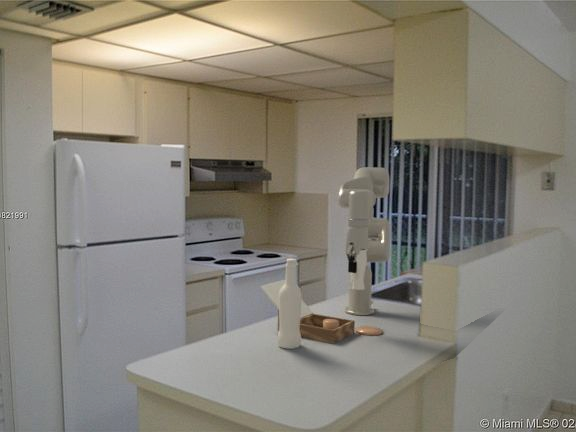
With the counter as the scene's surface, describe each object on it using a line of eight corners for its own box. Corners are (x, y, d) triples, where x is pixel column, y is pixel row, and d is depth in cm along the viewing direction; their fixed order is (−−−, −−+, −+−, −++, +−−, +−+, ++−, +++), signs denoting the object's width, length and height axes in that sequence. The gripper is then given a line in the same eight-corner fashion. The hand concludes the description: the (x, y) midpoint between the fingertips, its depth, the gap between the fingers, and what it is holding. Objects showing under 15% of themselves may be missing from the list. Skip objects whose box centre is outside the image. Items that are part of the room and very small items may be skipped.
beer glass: (366, 290, 202) (367, 250, 201) (347, 290, 202) (348, 250, 201) (364, 286, 209) (366, 247, 208) (346, 286, 209) (347, 247, 208)
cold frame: (312, 324, 215) (312, 313, 215) (354, 332, 205) (354, 320, 205) (289, 334, 201) (289, 322, 200) (333, 343, 191) (333, 330, 191)
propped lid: (282, 319, 222) (283, 279, 221) (313, 324, 215) (314, 283, 214) (258, 328, 208) (259, 285, 207) (290, 334, 201) (291, 290, 199)
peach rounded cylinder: (327, 334, 203) (327, 318, 202) (340, 336, 200) (341, 320, 199) (320, 337, 198) (320, 321, 198) (333, 340, 195) (334, 323, 195)
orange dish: (362, 326, 214) (362, 324, 214) (386, 331, 209) (386, 329, 209) (351, 332, 206) (351, 330, 205) (376, 337, 200) (376, 335, 200)
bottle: (272, 346, 185) (275, 259, 183) (284, 341, 193) (286, 256, 191) (294, 351, 182) (296, 261, 180) (304, 344, 189) (307, 258, 187)
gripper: (360, 221, 213) (358, 266, 214) (338, 224, 199) (336, 273, 200) (377, 222, 209) (376, 269, 210) (356, 226, 194) (355, 275, 196)
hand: (356, 270), depth 205 cm, fingers closed on beer glass, 6 cm apart
